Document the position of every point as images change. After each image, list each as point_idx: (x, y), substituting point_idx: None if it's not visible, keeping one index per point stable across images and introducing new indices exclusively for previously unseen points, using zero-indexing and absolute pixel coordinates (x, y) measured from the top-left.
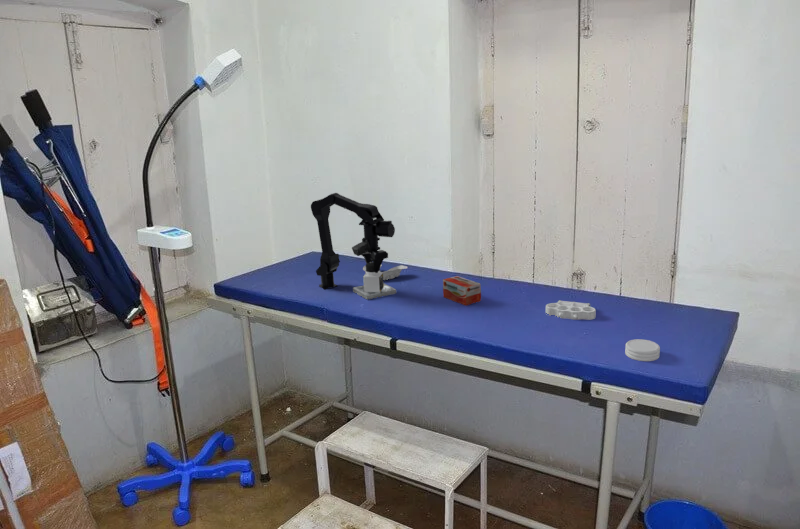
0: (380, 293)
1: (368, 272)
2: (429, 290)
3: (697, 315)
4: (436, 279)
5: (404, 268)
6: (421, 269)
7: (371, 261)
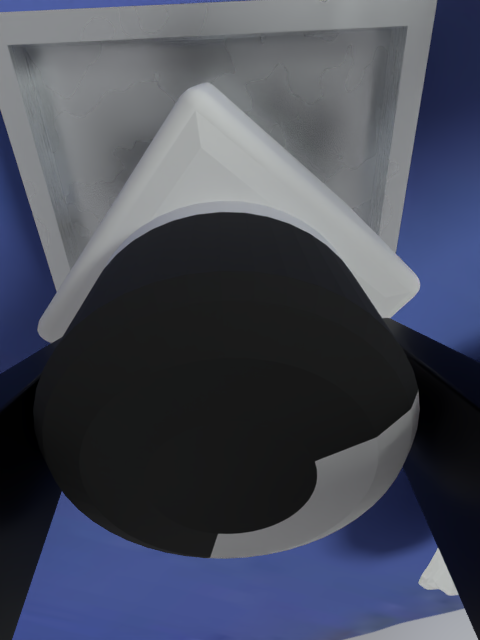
0: (39, 222)
1: (152, 226)
2: (64, 522)
3: None
4: (241, 593)
5: (448, 572)
6: (452, 597)
7: (433, 503)
